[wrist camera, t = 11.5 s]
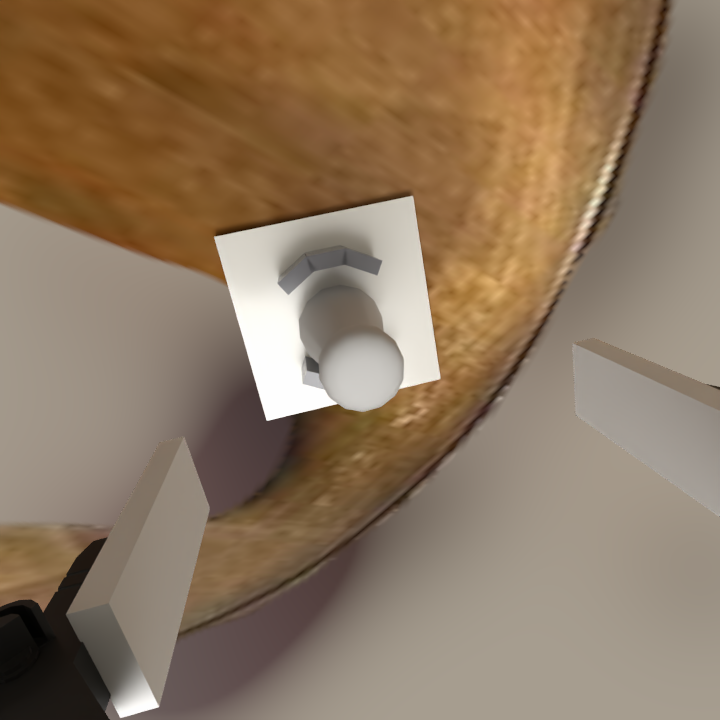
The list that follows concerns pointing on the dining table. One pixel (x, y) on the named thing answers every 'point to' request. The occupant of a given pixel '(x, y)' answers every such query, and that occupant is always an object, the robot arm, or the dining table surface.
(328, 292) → the salt shaker
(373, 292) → the square base with blocks
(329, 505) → the dining table surface
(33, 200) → the dining table surface
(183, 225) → the dining table surface
